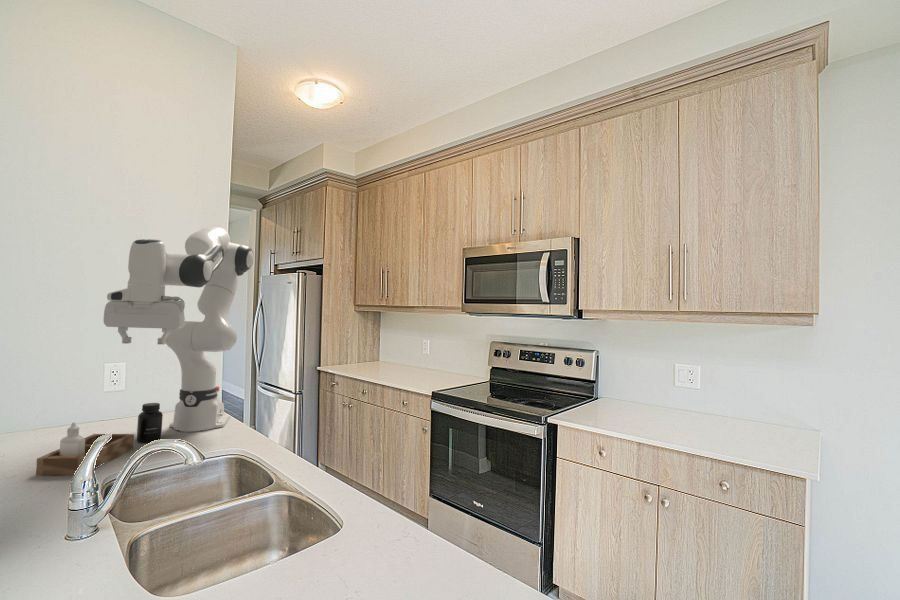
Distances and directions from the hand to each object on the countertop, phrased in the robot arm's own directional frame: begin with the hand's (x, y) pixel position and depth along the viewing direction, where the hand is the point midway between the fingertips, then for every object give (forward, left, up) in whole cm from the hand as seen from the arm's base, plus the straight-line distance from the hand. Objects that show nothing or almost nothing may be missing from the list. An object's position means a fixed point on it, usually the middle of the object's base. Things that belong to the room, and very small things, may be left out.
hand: (144, 343), depth 124 cm
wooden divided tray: (-3, -15, -35) cm, 38 cm away
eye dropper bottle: (+2, -16, -34) cm, 38 cm away
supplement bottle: (-22, -9, -35) cm, 42 cm away
